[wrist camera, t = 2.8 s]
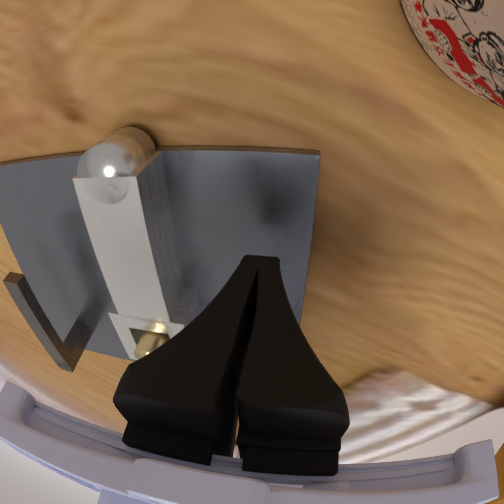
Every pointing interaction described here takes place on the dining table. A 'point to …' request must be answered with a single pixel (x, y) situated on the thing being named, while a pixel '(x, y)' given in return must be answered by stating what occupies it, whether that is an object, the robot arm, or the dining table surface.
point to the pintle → (149, 343)
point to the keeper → (48, 325)
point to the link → (134, 236)
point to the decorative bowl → (499, 476)
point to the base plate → (184, 223)
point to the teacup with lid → (463, 41)
